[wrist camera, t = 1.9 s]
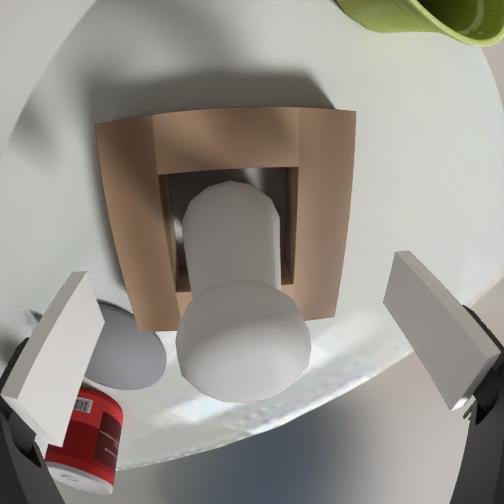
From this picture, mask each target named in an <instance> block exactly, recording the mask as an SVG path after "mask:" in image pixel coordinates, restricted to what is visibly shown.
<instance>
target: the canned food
mask: <svg viewBox="0 0 504 504" xmlns="http://www.w3.org/2000/svg"><path fill="white" fill-rule="evenodd" d="M122 422H123V413H122V409H121V407H120V406H119V405H118V404H117V403H116V402H115V401H114V400H113V399H112V398H110V397H108V396H107V395H105V394H103V393H101V392H98V391H96V390H92V389H88V388H80V389H79V392H78V395H77V398H76V401H75V404H74V407H73V411H72V414H71V417H70V420H69V424H68V427H67V431H66V434H65V438H64V441H63V445H62V447H59V446H55V445H52V444H48V448H47V451H46V455H45V460H44V461H45V463H46V466H47V468H48V470H49V472H50V474H51V476H52V477H53V478H55V479H57V480H59V481H60V482H62V483H65V484H67V485H69V486H72V487H74V488H77V489H80V490H83V491H87V492H91V493H97V494H110V493H112V489H113V485H114V477H115V470H116V462H117V454H118V448H119V441H120V435H121V428H122Z"/></svg>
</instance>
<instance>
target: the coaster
mask: <svg viewBox="0 0 504 504" xmlns="http://www.w3.org/2000/svg"><path fill="white" fill-rule="evenodd" d="M98 305H99V308H100V311H101V313H102V316H103V319H104V321H105V323H104V325H103V328H102V330H101V333H100V335H99V338H98V340H97V343H96V345H95V348H94V350H93V353H92V356H91V358H90V361H89V364H88V366H87V369H86V372H85V375H84V376H85V377H86V378H88V379H90V380H92V381H94V382H96V383H98V384H100V385H103V386H106V387H110V388H114V389H121V390H137V389H142V388H146V387H149V386H151V385H153V384H154V383H156V382H157V381H158V380H159V379H160V378H161V377H162V375H163V373H164V371H165V366H166V353H165V349H164V346H163V344H162V342H161V340H160V339H159V337H158V336H157V335H156V333H155V332H139V329H138V326H137V322H136V319H135V316H134V315H132V314H130V313H128V312H126V311H124V310H122V309H119V308H116V307H114V306H110V305H106V304H100V303H98Z"/></svg>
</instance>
